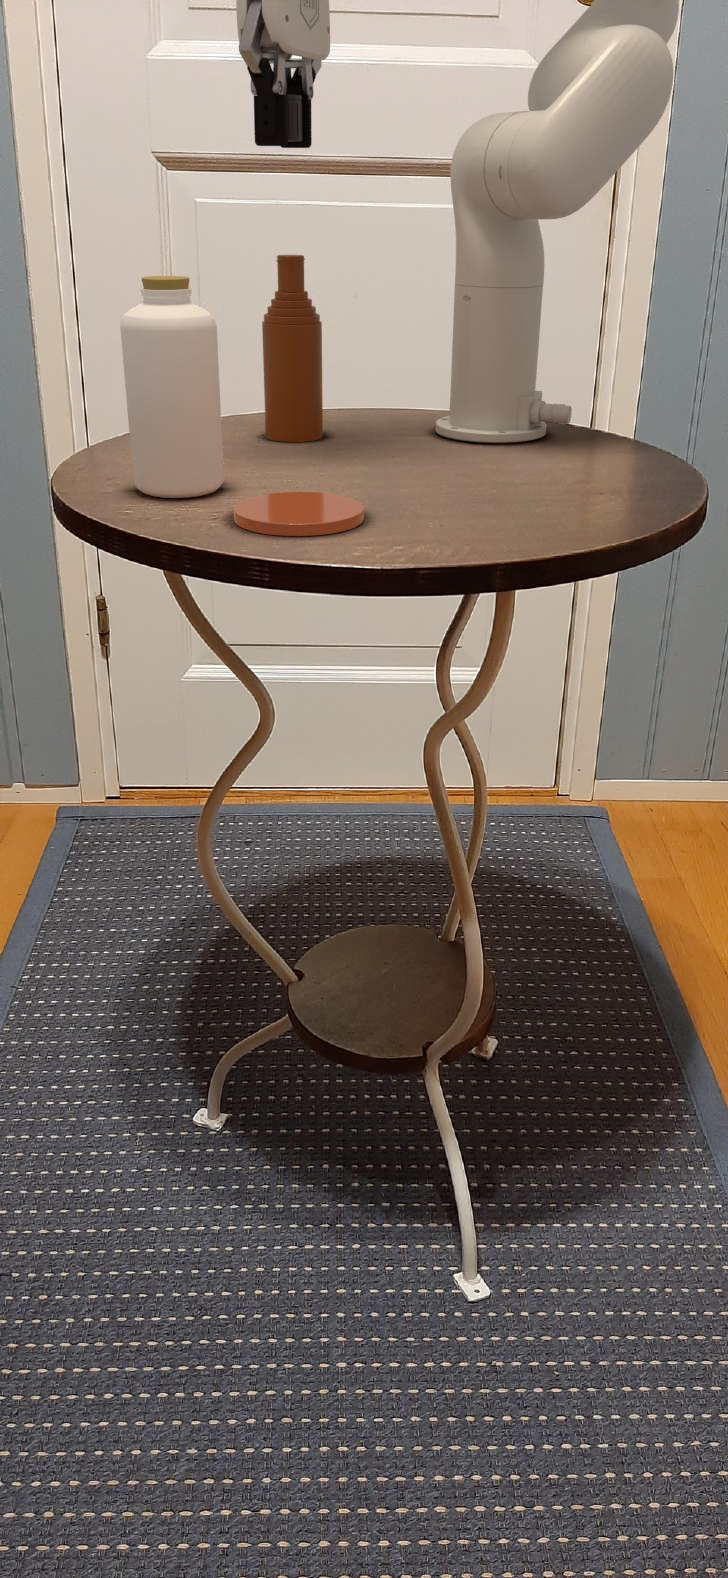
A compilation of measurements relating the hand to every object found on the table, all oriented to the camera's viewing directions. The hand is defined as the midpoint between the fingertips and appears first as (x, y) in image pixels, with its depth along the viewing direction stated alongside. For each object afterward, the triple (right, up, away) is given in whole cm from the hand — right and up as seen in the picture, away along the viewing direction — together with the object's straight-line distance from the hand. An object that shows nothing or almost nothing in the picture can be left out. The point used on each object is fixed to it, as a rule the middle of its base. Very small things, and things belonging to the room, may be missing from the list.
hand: (283, 144), depth 108 cm
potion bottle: (-10, -33, -2) cm, 34 cm away
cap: (0, 0, 0) cm, 0 cm away
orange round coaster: (+2, -38, -10) cm, 39 cm away
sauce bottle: (0, -21, +21) cm, 30 cm away
